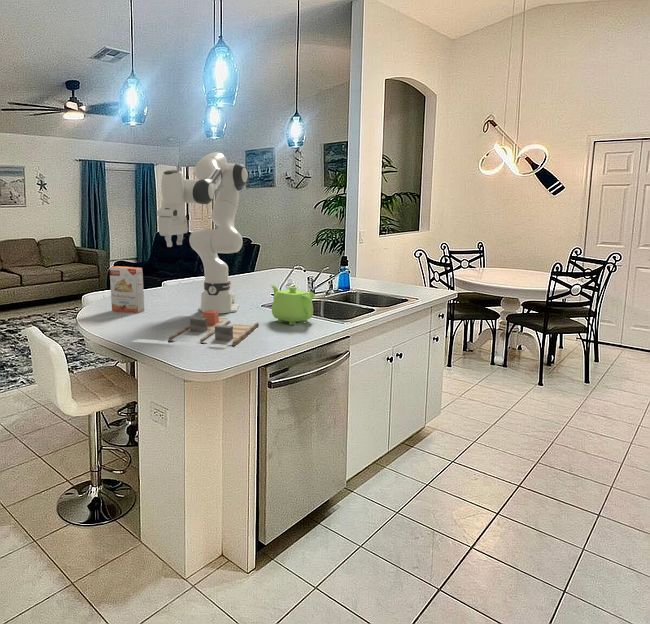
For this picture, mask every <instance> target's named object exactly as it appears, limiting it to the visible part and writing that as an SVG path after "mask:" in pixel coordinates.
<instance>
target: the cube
mask: <svg viewBox="0 0 650 624" xmlns="http://www.w3.org/2000/svg"><path fill="white" fill-rule="evenodd" d="M219 315H220V313H219V311H214V310H207V311H205V312H202V318H207V324H211V325H215V324H217V323H218V322H219V318H220V316H219Z"/></svg>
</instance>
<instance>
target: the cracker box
mask: <svg viewBox="0 0 650 624" xmlns="http://www.w3.org/2000/svg"><path fill="white" fill-rule="evenodd" d="M109 280H110V284H109V285H110V301H111V302H110V304H111V311H112V312H113V311H114V312H122V313H123V312H124V313H132V312H133V313H132V314H139V313H142V312H144V311H145V295H144V294H145V293H144V292H145V291H144V273H143V267H134V266H118V265H116V266H111V267H109Z"/></svg>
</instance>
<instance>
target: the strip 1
mask: <svg viewBox="0 0 650 624" xmlns="http://www.w3.org/2000/svg"><path fill="white" fill-rule="evenodd" d="M226 321H228V318H226V317H224V318H223V317H219V322H218V323H217V324H215V325H211V324H207V318H203V317H191V318H190V319H189V325H190V329H188V330H187V332H190V333H204V334H205V333H207V334H208V333H209V332H210V331H212V330H213V329H215V327H216V326H217V325H222V323H223V322H226Z"/></svg>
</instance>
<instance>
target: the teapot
mask: <svg viewBox="0 0 650 624" xmlns="http://www.w3.org/2000/svg"><path fill="white" fill-rule="evenodd" d="M270 286H271V288H272V290H273V301H272V305H271V313H272V316H273V318H275V319H277V321H276V323H284V322H285V321H286V322H288V325H289V326H297V323H296V322H300V323H302V322H307V323H309V320H310V319H312V318H313V315H314V305H313V299H314V298H315V296H316V294H315V293H314V292H312V291H309V292H308V291H305V290H302V289H301V290H300V289H297V288H298V287H297V286H289V287H288V289H282V290H279V289H278V287H277V286H276V285H273V284H271V285H270Z"/></svg>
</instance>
